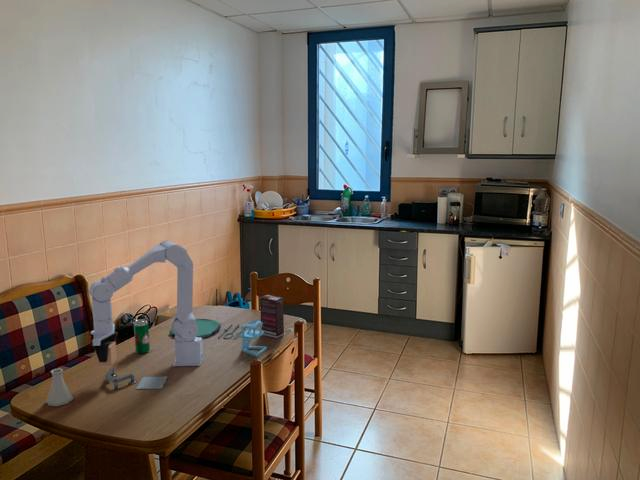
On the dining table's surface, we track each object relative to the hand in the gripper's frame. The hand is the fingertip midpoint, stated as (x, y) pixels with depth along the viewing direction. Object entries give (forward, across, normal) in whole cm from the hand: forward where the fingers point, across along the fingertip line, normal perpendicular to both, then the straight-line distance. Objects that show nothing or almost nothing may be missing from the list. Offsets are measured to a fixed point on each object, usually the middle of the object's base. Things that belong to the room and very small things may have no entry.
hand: (106, 358), depth 166 cm
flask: (+9, +12, -10) cm, 18 cm away
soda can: (+9, -24, +4) cm, 26 cm away
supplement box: (+9, -38, +52) cm, 66 cm away
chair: (+9, -22, +46) cm, 51 cm away
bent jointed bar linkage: (+8, +1, +4) cm, 9 cm away
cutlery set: (+9, -44, +25) cm, 51 cm away
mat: (+8, +2, +14) cm, 17 cm away
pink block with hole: (+1, 0, 0) cm, 1 cm away
